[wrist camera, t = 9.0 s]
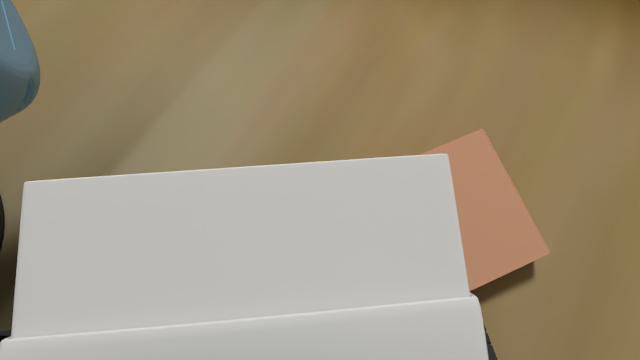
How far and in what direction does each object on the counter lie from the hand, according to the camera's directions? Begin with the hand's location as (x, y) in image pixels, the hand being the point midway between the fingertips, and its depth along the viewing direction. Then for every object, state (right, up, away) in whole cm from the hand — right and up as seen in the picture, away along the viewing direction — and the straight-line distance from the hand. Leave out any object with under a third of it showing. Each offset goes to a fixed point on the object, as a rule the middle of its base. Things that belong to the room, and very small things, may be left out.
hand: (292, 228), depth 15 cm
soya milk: (-1, -5, +9) cm, 10 cm away
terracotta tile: (+12, -1, +15) cm, 19 cm away
